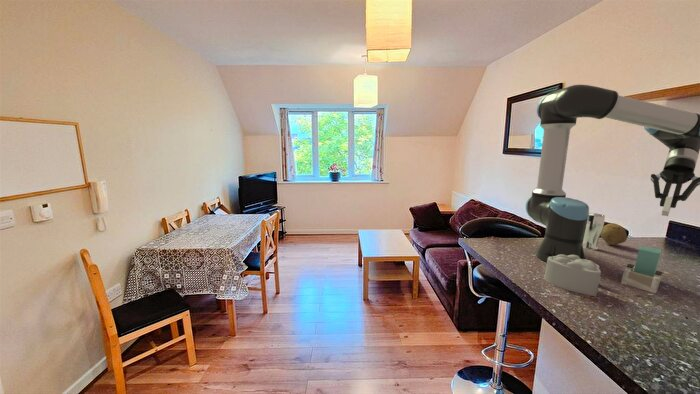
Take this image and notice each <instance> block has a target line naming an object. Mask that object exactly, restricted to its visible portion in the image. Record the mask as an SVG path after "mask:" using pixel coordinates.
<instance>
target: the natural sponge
mask: <svg viewBox="0 0 700 394" xmlns="http://www.w3.org/2000/svg"><path fill="white" fill-rule="evenodd" d="M600 238H601V239H603V241H605V243H606V244H607V245H610V246H616V245H619V244H622V243H625V242H626V241H627V239H628V235H627V232H626V229H625V228H624V227H623V226H621V225H620V224H618V223H614V222H613V223H612V222H611V223H607V224H604V227H603V230H602V233H601V235H600Z"/></svg>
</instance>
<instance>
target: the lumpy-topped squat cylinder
mask: <svg viewBox="0 0 700 394" xmlns="http://www.w3.org/2000/svg"><path fill="white" fill-rule="evenodd" d="M601 275H602V271H601V269H600V265H599V264H597V263H595V262H594V261H593V260H589V259H581V258H580V257H579V256H577V255H568V256H566V255H563V254H560V255H557V256H550V257H548V260H547V262H546V266H545V273H544V277H543V278H544V280H545V281H547V282H548V283H549V284H551V285H553V286H556V287H558V288H560V289H563V290H566V291H570V292H573V293H576V294H577V293H579V294H582V295H587V296H588V295H589V296H596V295H598V294H597V293H598V289H599V286H600V285H599V284H600V279H601Z"/></svg>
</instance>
